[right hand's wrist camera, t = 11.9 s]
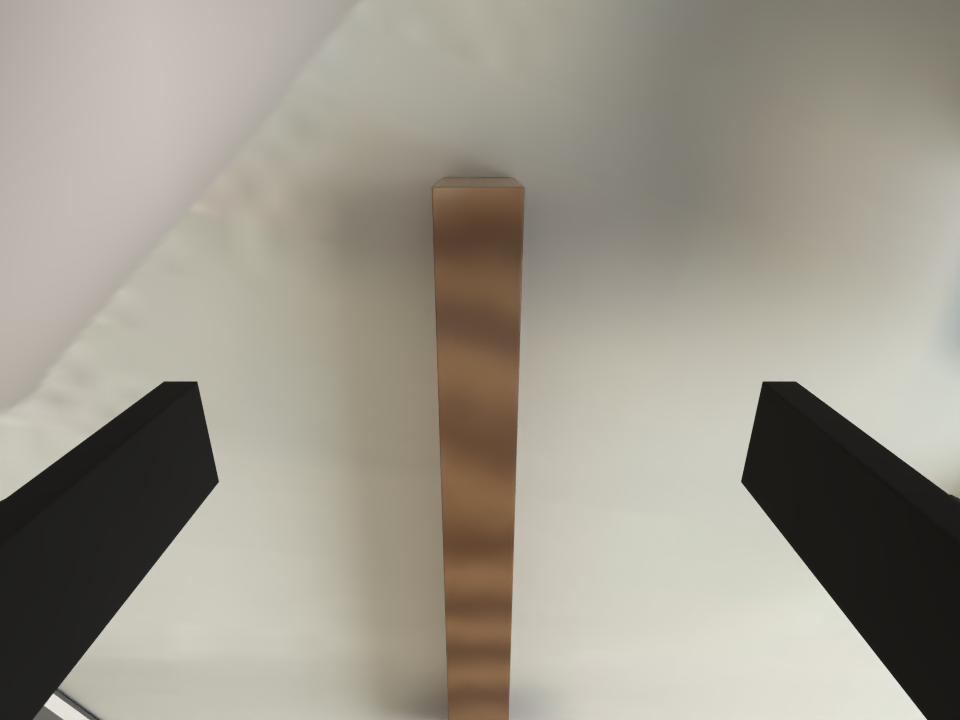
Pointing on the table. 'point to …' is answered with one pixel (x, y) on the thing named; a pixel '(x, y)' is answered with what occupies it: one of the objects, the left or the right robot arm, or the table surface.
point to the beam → (478, 429)
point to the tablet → (62, 709)
